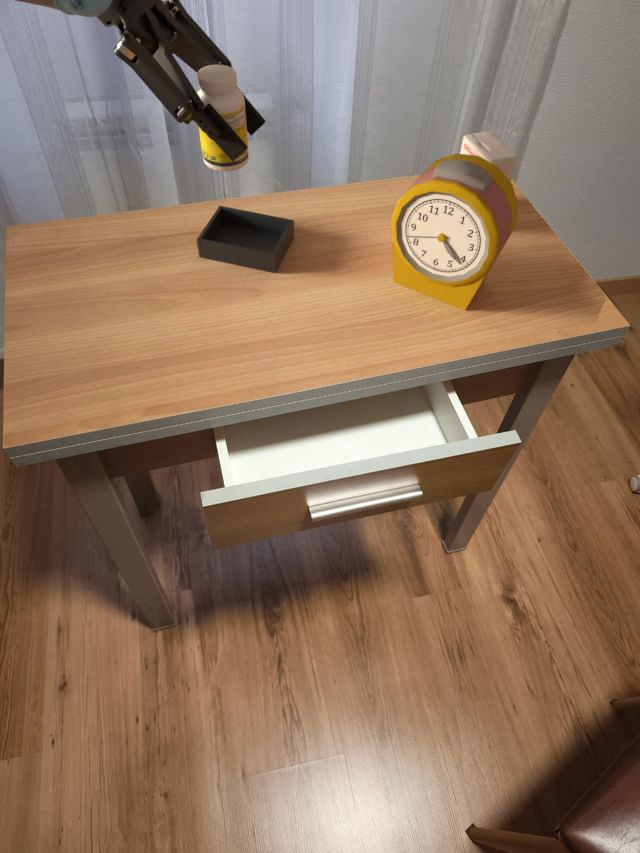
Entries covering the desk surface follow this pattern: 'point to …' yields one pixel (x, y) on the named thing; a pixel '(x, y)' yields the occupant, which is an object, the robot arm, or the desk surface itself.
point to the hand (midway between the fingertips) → (249, 140)
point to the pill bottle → (222, 114)
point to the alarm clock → (452, 228)
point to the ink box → (490, 151)
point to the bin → (246, 239)
